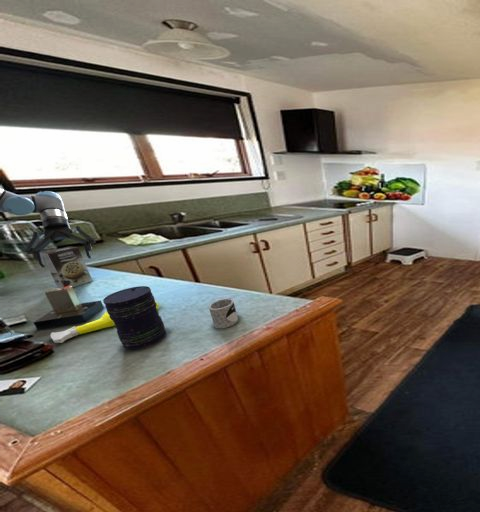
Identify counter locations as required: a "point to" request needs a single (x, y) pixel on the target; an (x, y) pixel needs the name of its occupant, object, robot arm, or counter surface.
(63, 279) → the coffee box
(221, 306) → the mug
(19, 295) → the counter surface
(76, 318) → the dispenser panel
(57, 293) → the small grey box
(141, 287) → the storage jar
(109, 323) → the yellow flared piece
